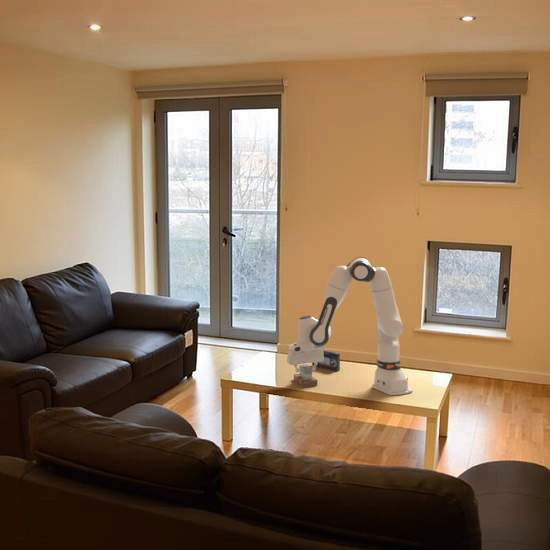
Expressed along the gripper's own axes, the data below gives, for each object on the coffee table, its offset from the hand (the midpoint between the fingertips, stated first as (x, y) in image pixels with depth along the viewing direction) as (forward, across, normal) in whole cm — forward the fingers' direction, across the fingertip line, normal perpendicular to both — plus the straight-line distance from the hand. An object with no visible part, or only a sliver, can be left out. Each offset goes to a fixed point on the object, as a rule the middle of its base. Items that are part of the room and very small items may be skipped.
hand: (305, 370), depth 364 cm
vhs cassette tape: (+7, -21, -22) cm, 31 cm away
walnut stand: (+7, 0, 0) cm, 7 cm away
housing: (+4, 0, 0) cm, 4 cm away
